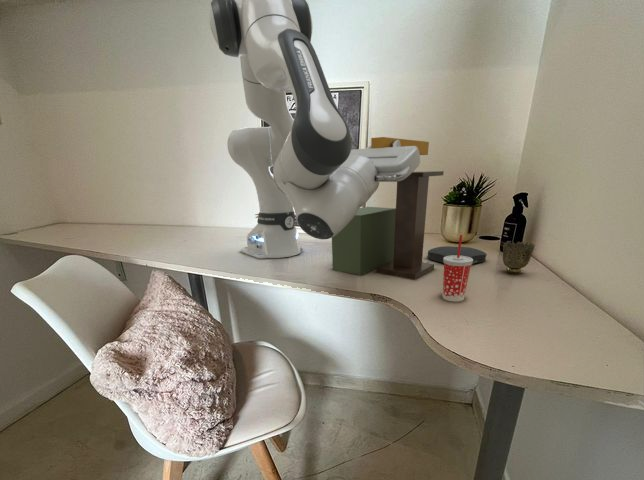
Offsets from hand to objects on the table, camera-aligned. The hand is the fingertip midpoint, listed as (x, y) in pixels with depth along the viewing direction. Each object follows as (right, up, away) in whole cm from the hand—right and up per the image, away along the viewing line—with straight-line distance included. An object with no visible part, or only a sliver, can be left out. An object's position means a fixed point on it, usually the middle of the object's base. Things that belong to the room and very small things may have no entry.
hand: (388, 143), depth 74 cm
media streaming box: (+26, -21, +32) cm, 46 cm away
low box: (-3, -23, +28) cm, 36 cm away
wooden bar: (+4, 0, +5) cm, 7 cm away
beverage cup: (+15, -34, +1) cm, 37 cm away
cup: (+37, -26, +18) cm, 49 cm away
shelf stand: (+8, -25, +21) cm, 34 cm away
